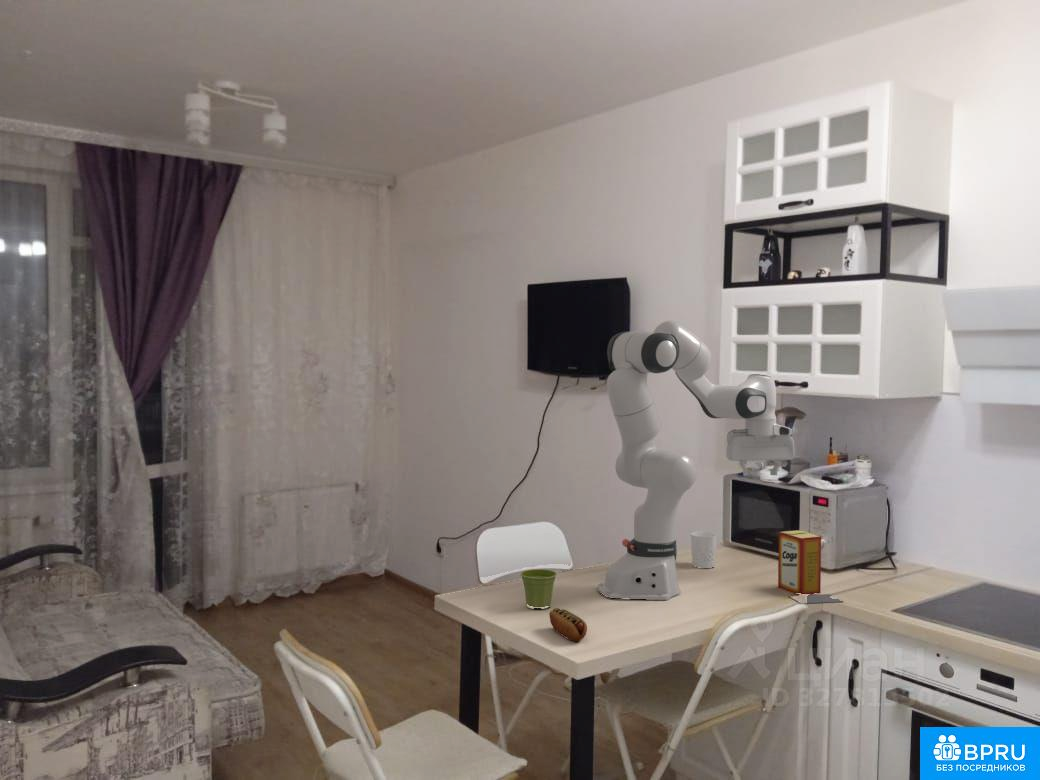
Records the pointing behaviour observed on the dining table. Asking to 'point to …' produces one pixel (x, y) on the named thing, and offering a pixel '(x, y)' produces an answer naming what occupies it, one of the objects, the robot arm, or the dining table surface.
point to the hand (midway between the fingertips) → (760, 475)
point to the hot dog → (568, 624)
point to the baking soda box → (799, 562)
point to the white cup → (703, 549)
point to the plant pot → (538, 586)
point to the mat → (821, 599)
